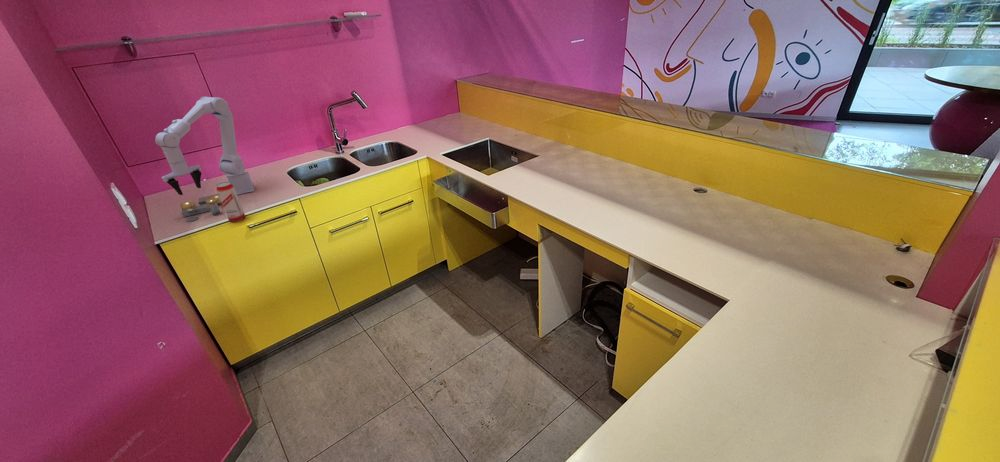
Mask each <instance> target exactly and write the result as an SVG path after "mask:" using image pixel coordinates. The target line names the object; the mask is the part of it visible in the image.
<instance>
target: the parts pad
mask: <svg viewBox="0 0 1000 462" xmlns="http://www.w3.org/2000/svg"><path fill="white" fill-rule="evenodd" d="M198 220H199V216H198V215H197V216H196V215H195V216H189V217H188V218H186V220H185V222H187V223H192V222H195V221H198Z"/></svg>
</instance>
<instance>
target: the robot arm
mask: <svg viewBox="0 0 1000 462" xmlns="http://www.w3.org/2000/svg"><path fill="white" fill-rule="evenodd" d="M204 114H212V115H213V116H215V117H216V118H217V119H218V122H219V130H220V138H221V139H220V141H221V147H222V155H220V162H219V164H218V167H219V170H220V171H221V172H222V173H224V175H225V176H226V179H227V182H231V184H232V185H233V186H234V188H235V191H236V193H237V196H240V195H244V194H248V193H252V192H255V187H254V185H255V184H254V182H253V181H252V179H251V175H250V173H249V171H246V167H245V164H244V162H243V158H242V157H241V156H240V155H239V154H238V150H237V141H236V132H235V124H234V123H235V122H234V116H233V115H234V114H233V113H232V111H231V108H230V107H229V103H228V101H226V100H225V99H224V98H222V97H218V96H217V97H212V96H205V95H204V96H201V97H200V98H199V100H197V101H196V102H195V105H194V106H193V107H192V108H191V109H190V110H189V111H188V112H187V113H186V114H185V115H184V117H182V118H181V119H180V118H177V119H173V120H171V124H170V125H169V126H167V128H164V129H163V131H162V132H158V133H157V134H156V135H155V140H154V142H155V144H156V145H157V146H159V147H160V148H161V150H162V152H163V155H164V157H165V158H166V161H167V162H168V163H167V164H168V165H169V167H170V169H171V172H170V173H168V174H166V175H163V176H161V179H162V181H163V182H164V183H167V184H168V185H169V186H170V187H172V189H174V190H175V192H177V194H178V195H179V196H184V193H183V191H182V189H181V187H180V184H179V181H178V180H176V179H177V178H180V177H183V176H186V175H190V176H191V178H192V180H193V182H194V184H195V186H196V188H198V189H201V188H202V184H201V183H202V182H201V179H202V178H201V177H202V168H201V165H198V164H196V165H193V166H188V164H187V161H186V159H185V157H184V155H183V153H182V150H181V148H180V143H181V139H182V138H183V137H184V136H185V135H186V134H188V132H189V131H191V125H193V123H195V121H197V120H198V119H199V118H200V117H202V116H203V115H204Z"/></svg>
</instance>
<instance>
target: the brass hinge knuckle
mask: <svg viewBox="0 0 1000 462" xmlns="http://www.w3.org/2000/svg"><path fill="white" fill-rule="evenodd" d="M179 205H180V208H181V215H182V217H183V218H185V217H191V216H193V215H198V214H203V213H207V212H211V210H210V208H209V205H208V204H204V205H197V204H196V202H195V201H194V200H188V201H184V202H180V204H179Z"/></svg>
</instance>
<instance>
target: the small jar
mask: <svg viewBox="0 0 1000 462" xmlns="http://www.w3.org/2000/svg"><path fill="white" fill-rule="evenodd" d="M216 201H217V199H216V198H210V199H207V200H206V203H207V204H208V205H209V208H210V212H211V215H212V216H219V215H221V214H222V211H221V209H220V207H219V204H217V202H216Z"/></svg>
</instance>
